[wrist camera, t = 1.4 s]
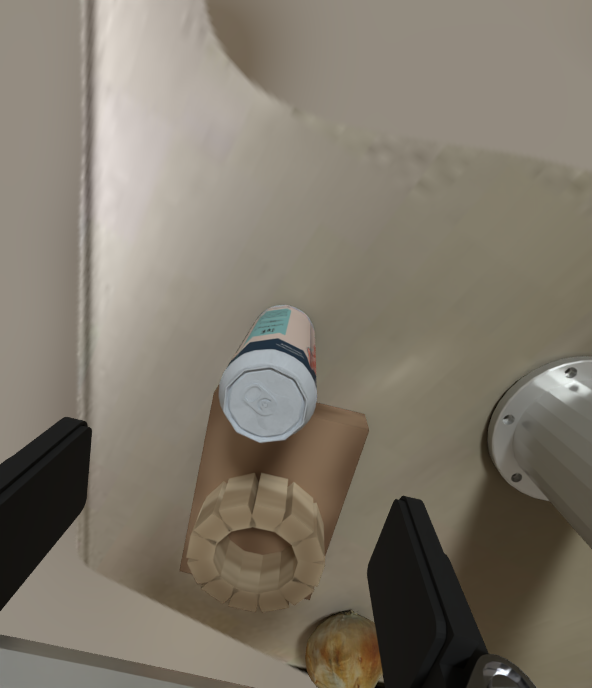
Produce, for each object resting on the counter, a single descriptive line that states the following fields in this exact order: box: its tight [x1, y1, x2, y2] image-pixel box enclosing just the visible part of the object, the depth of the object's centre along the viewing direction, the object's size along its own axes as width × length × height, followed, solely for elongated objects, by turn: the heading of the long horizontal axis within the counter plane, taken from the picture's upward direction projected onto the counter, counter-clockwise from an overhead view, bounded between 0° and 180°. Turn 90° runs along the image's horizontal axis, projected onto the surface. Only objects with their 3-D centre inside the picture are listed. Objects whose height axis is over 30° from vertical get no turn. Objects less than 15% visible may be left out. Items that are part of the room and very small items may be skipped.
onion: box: [305, 610, 383, 688], centre depth 33 cm, size 8×8×8 cm
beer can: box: [219, 305, 317, 443], centre depth 22 cm, size 5×5×12 cm
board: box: [180, 385, 369, 612], centre depth 30 cm, size 12×18×6 cm, turn 166°
